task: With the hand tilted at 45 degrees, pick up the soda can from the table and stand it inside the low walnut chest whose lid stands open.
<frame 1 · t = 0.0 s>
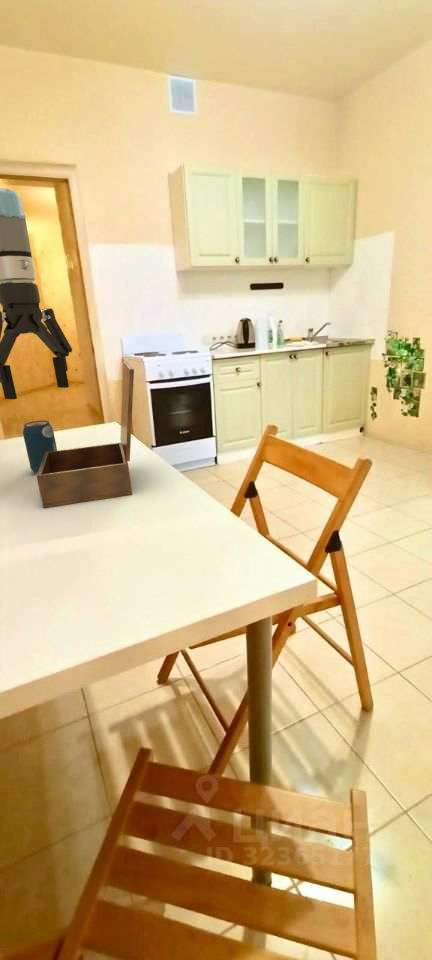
hand: (38, 393, 94), 21 cm above the table, tool pointing down, fingers open, 13 cm apart
soda can: (46, 470, 112), on the table
chest lid: (126, 408, 95), point 16 cm above the table, hinge at 100.0°
chest: (89, 486, 99), on the table
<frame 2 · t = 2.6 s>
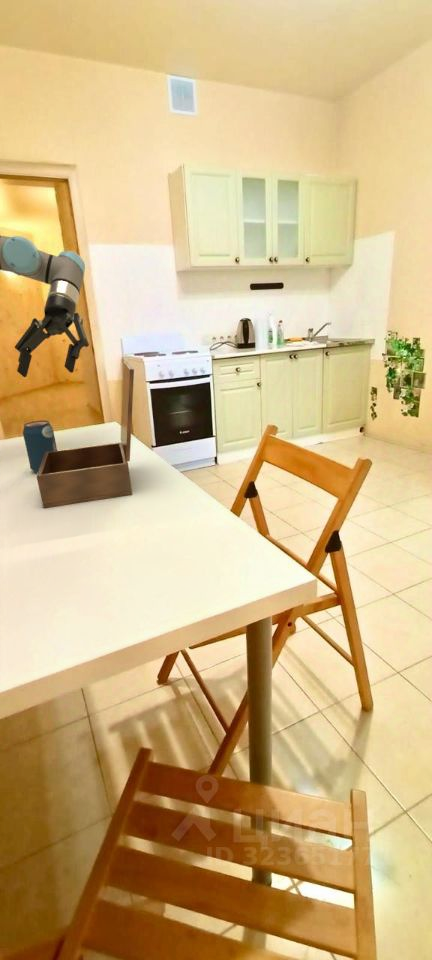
hand: (44, 371, 112), 23 cm above the table, tool tilted 40°, fingers open, 13 cm apart
nothing on the table moved.
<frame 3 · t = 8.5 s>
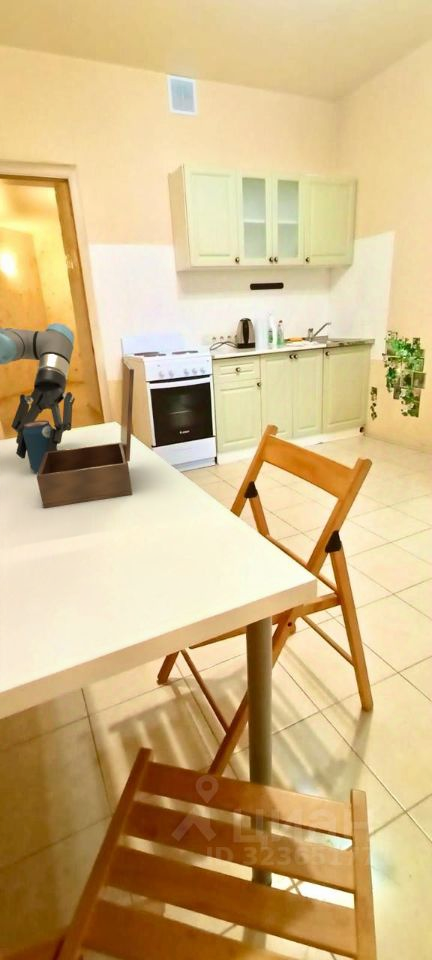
hand: (35, 455, 107), 5 cm above the table, tool tilted 45°, fingers closed on soda can, 7 cm apart
soda can: (46, 470, 112), on the table, touching gripper
everything else where it was.
when the fingers open (9 cm above the table, at t = 38.0 s): soda can drops 3 cm, resting on chest.
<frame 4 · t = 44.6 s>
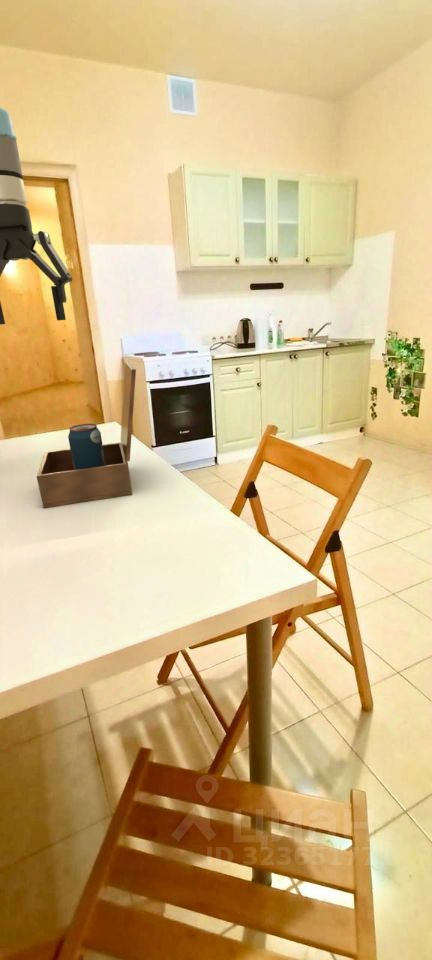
hand: (30, 322, 94), 35 cm above the table, tool pointing down, fingers open, 13 cm apart
soda can: (92, 479, 101), point 1 cm above the table, touching chest
chest lid: (127, 408, 95), point 16 cm above the table, hinge at 101.2°
at the end: soda can inside the target area in the chest (3.1 cm from its centre), point 0.6 cm above the chest's base; soda can tilted 0°; the gripper is holding nothing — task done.
